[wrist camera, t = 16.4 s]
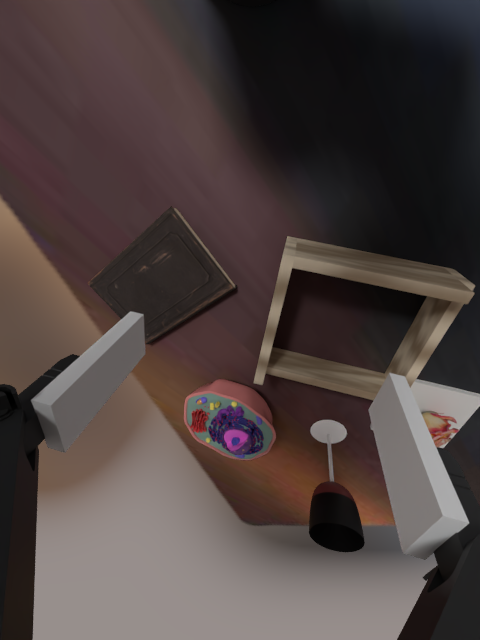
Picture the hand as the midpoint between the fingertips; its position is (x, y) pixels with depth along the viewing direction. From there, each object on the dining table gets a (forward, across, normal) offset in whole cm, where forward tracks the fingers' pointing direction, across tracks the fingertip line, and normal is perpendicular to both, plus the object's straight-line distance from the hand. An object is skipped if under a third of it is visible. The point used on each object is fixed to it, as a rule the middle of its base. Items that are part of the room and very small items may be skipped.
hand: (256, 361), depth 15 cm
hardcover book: (+32, -20, -13) cm, 40 cm away
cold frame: (+32, +12, -12) cm, 36 cm away
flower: (+31, +32, -28) cm, 52 cm away
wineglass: (+32, +18, -40) cm, 54 cm away
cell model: (+32, -3, -37) cm, 49 cm away
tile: (+32, +32, -28) cm, 53 cm away
